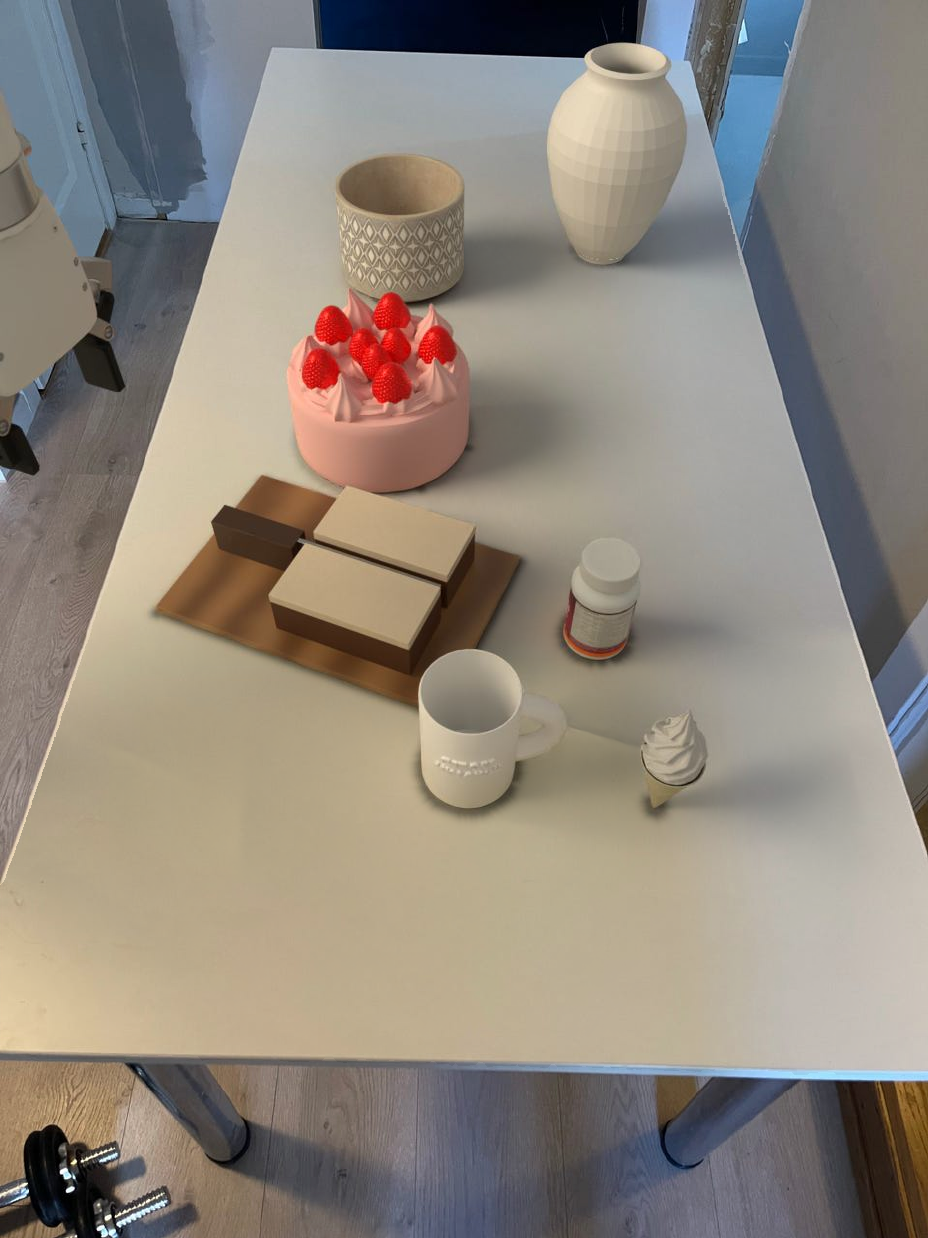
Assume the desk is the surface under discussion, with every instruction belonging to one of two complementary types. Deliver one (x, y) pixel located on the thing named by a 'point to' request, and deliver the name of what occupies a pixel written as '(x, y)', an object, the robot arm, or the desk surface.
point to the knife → (269, 540)
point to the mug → (478, 727)
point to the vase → (615, 149)
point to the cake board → (240, 610)
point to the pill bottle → (602, 598)
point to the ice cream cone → (673, 757)
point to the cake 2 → (400, 538)
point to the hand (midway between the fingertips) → (65, 425)
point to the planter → (401, 225)
